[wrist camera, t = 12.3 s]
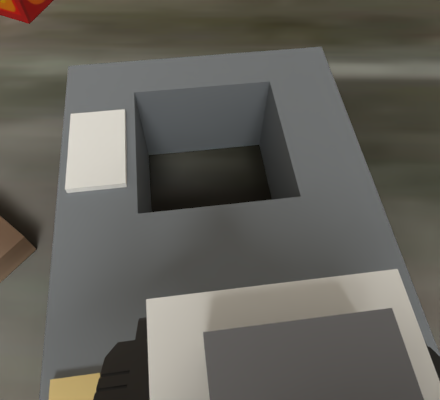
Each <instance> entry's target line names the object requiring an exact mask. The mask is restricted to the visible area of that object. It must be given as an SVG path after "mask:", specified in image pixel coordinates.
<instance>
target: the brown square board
mask: <svg viewBox="0 0 440 400" xmlns="http://www.w3.org/2000/svg"><path fill="white" fill-rule="evenodd" d="M35 250H36V248H35V247H34V246H33V245H32V244H31V243H30V242H29V241H28V240H27V239H26V238H25V237H24V236H23V235H22V234H21V233H19V232H18V231H17V230H16V229H15V228H14V227H12V226H11V225H10V224H9V223H8V222H7V221H6V220H4V219H3V218H2V217H1V216H0V282H1V281H3V280H4V279H5V278H6V277H7V276H8V275H9V274H10V273H11V272H12V271H13V270H15V269H16V268H17V267H18V266H19V265H20V264H21V263H22V262H23V261H24V260H25V259H27V258H28V257H29V256H30V255H31V254H32V253H33V252H34V251H35Z"/></svg>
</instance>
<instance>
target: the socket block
mask: <svg viewBox="0 0 440 400" xmlns="http://www.w3.org/2000/svg"><path fill="white" fill-rule="evenodd" d="M252 145H259V146H260V150H261V154H262V159H263V163H264V168H265V172H266V177H267V181H268V185H269V190H270V194H271V199H272V200H263V201H254V202H244V203H235V204H225V205H216V206H206V207H197V208H188V209H178V210H169V211H159V212H152V210H151V190H150V170H149V155H157V154H167V153H178V152H188V151H199V150H210V149H220V148H231V147H241V146H252ZM392 269H398V271H399V274H400V277H401V279H402V282H403V285H404V287H405V290H406V293H407V295H408V298H409V301H410V303H411V306H412V309H413V311H414V314H415V317H416V319H417V322H418V325H419V327H420V330H421V333H422V335H423V338H424V341H425V342H426V343H427V346H428V347H431V348H432V349H433V350H434V351H435V352H436V353H437V354H438V355H439V356H440V353H439V350H438V348H437V345H436V343H435V340H434V338H433V335H432V332H431V330H430V327H429V325H428V322H427V319H426V317H425V314H424V312H423V309H422V306H421V304H420V301H419V299H418V296H417V293H416V291H415V288H414V286H413V283H412V280H411V278H410V275H409V273H408V270H407V267H406V265H405V262H404V260H403V257H402V254H401V252H400V249H399V247H398V244H397V241H396V239H395V236H394V234H393V231H392V228H391V226H390V223H389V221H388V218H387V215H386V213H385V210H384V208H383V205H382V202H381V200H380V197H379V195H378V192H377V189H376V187H375V184H374V182H373V179H372V176H371V174H370V171H369V169H368V166H367V163H366V161H365V158H364V156H363V153H362V150H361V148H360V145H359V143H358V140H357V137H356V135H355V132H354V130H353V127H352V124H351V122H350V119H349V117H348V114H347V111H346V109H345V106H344V104H343V101H342V98H341V96H340V93H339V91H338V88H337V85H336V83H335V80H334V78H333V75H332V72H331V70H330V67H329V65H328V62H327V59H326V57H325V54H324V52H323V49H322V47H312V48H298V49H285V50H272V51H259V52H245V53H232V54H219V55H206V56H193V57H179V58H166V59H153V60H140V61H126V62H113V63H100V64H87V65H74V66H68V76H67V88H66V99H65V110H64V122H63V133H62V145H61V156H60V167H59V179H58V190H57V201H56V213H55V224H54V236H53V247H52V258H51V270H50V281H49V292H48V304H47V315H46V327H45V338H44V349H43V361H42V372H41V383H40V395H39V400H93V398H94V394H95V393H96V387H97V384H98V380H99V378H100V373H101V369H102V366H103V362H104V358H105V357H106V355H107V354H108V353H109V352H110V351H111V350H112V348H113V347H114V346H115V345H116V344H117V342H123V341H131V340H135V337H136V331H137V325H138V320H139V318H143V317H147V312H146V299H152V298H160V297H168V296H177V295H185V294H193V293H201V292H210V291H218V290H226V289H235V288H243V287H251V286H260V285H268V284H276V283H284V282H293V281H301V280H309V279H318V278H326V277H334V276H343V275H351V274H359V273H367V272H376V271H384V270H392Z"/></svg>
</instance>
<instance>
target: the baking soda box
mask: <svg viewBox="0 0 440 400" xmlns="http://www.w3.org/2000/svg"><path fill="white" fill-rule="evenodd" d="M52 1H53V0H0V15H2V16H6V17H9V18H12V19H16V20H19V21H22V22H25V23H29V24H30V23H31V22H32V21H33V20H34V19H35V18H36V17H37V16H38V15H39V14H40V13H41V12H42V11H43V10H44V9H45V8H46V7H47V6H48V5H49V4H50V3H51V2H52Z"/></svg>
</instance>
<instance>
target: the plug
mask: <svg viewBox="0 0 440 400" xmlns="http://www.w3.org/2000/svg"><path fill="white" fill-rule="evenodd" d="M146 312H147V341H148V369H149V397H150V400H440V381H439V378H438V375H437V373H436V370H435V367H434V365H433V362H432V359H431V357H430V354H429V351H428V349H427V346H426V343H425V341H424V338H423V335H422V333H421V330H420V327H419V325H418V322H417V319H416V317H415V314H414V311H413V309H412V306H411V303H410V301H409V298H408V295H407V293H406V290H405V287H404V285H403V282H402V279H401V277H400V274H399V271H398V269H392V270H384V271H376V272H367V273H359V274H351V275H343V276H334V277H326V278H318V279H309V280H301V281H293V282H284V283H276V284H268V285H260V286H251V287H243V288H235V289H226V290H218V291H210V292H201V293H193V294H185V295H177V296H168V297H160V298H152V299H146Z"/></svg>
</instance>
